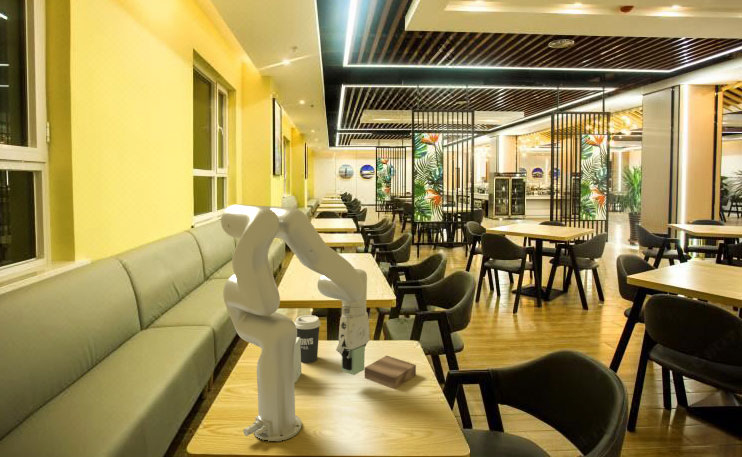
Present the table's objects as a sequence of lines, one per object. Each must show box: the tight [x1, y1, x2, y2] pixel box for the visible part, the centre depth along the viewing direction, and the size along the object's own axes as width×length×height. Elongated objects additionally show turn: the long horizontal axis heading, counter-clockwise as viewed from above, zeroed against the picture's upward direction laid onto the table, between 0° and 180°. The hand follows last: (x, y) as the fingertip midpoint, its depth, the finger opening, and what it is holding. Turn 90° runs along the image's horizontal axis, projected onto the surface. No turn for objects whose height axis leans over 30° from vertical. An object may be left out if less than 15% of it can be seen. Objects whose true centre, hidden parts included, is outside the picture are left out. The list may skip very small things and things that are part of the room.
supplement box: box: [294, 337, 302, 384], centre depth 155 cm, size 7×7×13 cm
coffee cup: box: [293, 314, 322, 364], centre depth 169 cm, size 10×10×15 cm
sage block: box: [341, 345, 366, 376], centre depth 148 cm, size 5×5×8 cm
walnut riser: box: [364, 355, 417, 390], centre depth 157 cm, size 12×12×4 cm
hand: (353, 365), depth 149 cm, fingers closed on sage block, 5 cm apart
